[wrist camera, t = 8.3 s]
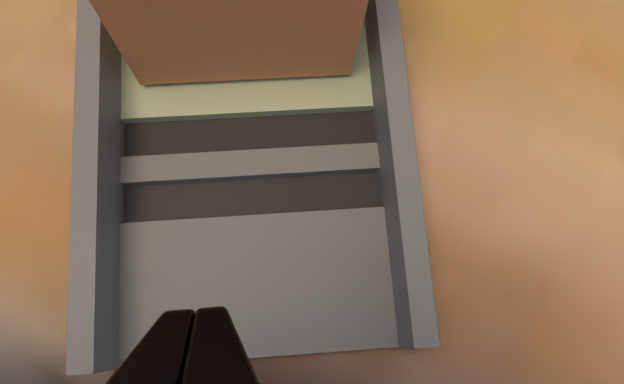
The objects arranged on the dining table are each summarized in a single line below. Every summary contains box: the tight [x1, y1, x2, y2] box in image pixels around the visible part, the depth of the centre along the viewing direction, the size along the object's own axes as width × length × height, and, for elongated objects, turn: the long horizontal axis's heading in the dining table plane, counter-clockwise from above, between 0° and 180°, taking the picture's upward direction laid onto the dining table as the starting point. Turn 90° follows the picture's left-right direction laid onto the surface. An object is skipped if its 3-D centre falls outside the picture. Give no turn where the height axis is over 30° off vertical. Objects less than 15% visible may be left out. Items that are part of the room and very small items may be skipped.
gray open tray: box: [66, 0, 440, 376], centre depth 20 cm, size 16×11×4 cm
